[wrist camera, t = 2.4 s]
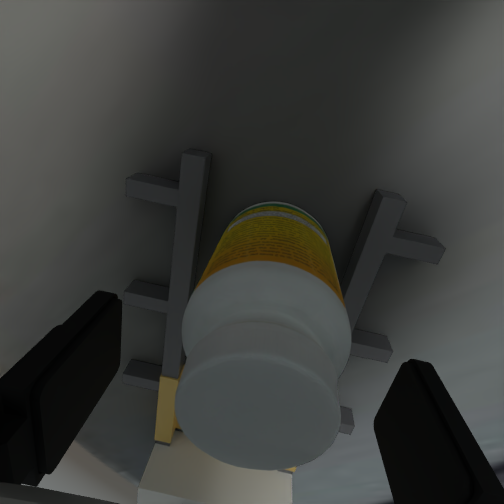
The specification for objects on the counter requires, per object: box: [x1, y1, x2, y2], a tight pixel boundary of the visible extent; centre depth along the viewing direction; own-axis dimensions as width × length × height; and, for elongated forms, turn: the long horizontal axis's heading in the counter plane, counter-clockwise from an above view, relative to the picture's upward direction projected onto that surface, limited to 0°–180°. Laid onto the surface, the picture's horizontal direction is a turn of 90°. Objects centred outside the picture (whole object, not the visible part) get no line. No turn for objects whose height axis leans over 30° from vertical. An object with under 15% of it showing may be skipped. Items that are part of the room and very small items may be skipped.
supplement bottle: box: [174, 202, 351, 471], centre depth 12 cm, size 5×5×10 cm
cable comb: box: [123, 149, 446, 504], centre depth 17 cm, size 22×14×5 cm, turn 169°
